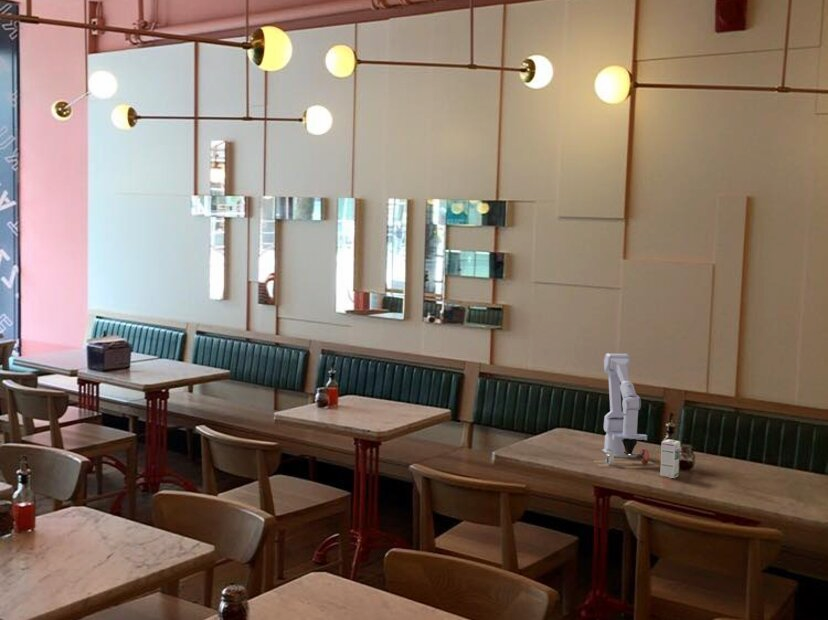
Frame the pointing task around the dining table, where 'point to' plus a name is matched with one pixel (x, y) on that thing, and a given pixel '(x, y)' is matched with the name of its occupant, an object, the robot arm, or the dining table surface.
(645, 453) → the red knobbed metal rod
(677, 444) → the syrup box
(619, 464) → the light tan board
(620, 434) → the robot arm
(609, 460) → the square metal loop
